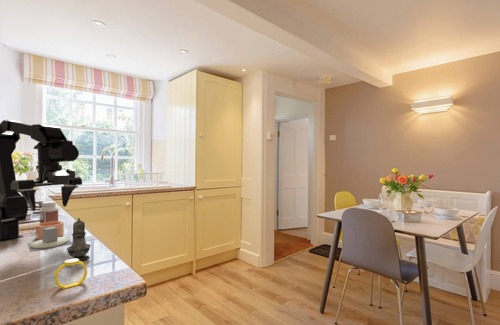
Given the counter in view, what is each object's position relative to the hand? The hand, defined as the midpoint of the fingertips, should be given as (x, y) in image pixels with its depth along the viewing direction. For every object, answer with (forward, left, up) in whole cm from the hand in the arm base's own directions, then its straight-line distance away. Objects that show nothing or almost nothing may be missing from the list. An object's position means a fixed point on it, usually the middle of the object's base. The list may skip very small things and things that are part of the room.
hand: (50, 208), depth 88 cm
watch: (+37, -14, -13) cm, 41 cm away
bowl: (-10, +5, -12) cm, 17 cm away
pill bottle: (-25, +12, -13) cm, 31 cm away
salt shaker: (+22, -3, -13) cm, 25 cm away
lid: (0, 0, -12) cm, 12 cm away
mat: (0, 0, -12) cm, 12 cm away
